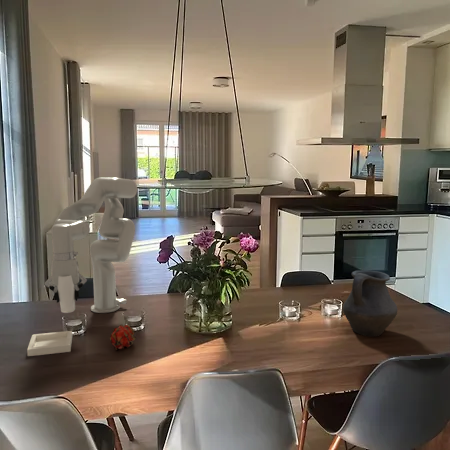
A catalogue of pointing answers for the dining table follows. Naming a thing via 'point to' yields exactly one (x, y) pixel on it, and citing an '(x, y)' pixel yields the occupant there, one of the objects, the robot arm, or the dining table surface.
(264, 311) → the dining table surface
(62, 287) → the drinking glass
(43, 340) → the tray
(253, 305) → the dining table surface
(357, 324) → the pitcher
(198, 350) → the dining table surface
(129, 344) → the dragon fruit
